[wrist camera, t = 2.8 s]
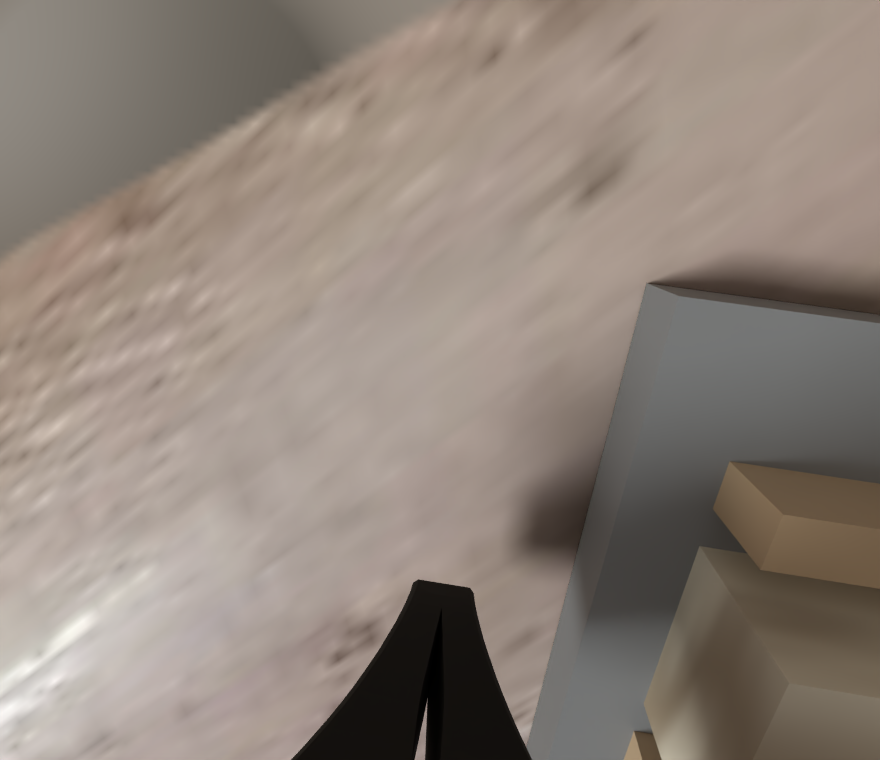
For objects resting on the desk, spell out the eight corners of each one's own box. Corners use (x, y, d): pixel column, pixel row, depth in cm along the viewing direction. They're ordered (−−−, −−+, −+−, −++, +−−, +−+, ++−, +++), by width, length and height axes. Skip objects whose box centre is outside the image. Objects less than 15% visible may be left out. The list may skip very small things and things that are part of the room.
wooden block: (838, 737, 13) (964, 922, 9) (643, 703, 13) (698, 872, 10) (924, 581, 11) (1113, 737, 8) (699, 545, 11) (789, 683, 8)
